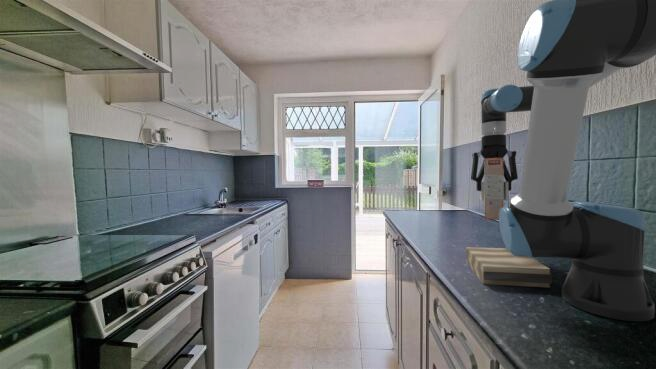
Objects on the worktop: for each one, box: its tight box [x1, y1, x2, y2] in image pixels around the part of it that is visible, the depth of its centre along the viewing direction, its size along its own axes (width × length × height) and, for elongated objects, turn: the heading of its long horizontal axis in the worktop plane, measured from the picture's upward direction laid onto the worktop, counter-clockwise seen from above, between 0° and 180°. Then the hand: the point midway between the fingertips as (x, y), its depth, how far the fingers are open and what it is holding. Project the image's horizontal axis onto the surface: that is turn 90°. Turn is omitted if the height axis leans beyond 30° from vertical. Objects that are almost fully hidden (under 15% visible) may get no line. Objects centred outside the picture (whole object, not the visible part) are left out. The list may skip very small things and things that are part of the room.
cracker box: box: [483, 157, 505, 221], centre depth 102 cm, size 14×6×21 cm, turn 151°
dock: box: [465, 246, 553, 289], centre depth 86 cm, size 20×16×5 cm
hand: (493, 200), depth 102 cm, fingers closed on cracker box, 7 cm apart
